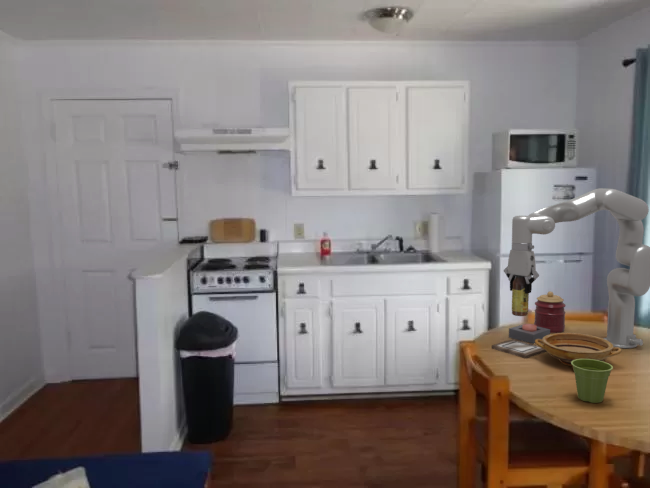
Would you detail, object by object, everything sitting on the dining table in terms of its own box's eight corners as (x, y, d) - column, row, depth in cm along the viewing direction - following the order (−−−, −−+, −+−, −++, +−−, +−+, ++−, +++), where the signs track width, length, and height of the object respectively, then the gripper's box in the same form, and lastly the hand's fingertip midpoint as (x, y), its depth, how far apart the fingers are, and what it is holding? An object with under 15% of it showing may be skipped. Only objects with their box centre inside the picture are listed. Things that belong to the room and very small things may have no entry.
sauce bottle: (526, 317, 216) (527, 267, 213) (509, 315, 219) (511, 266, 217) (529, 313, 221) (531, 265, 219) (513, 312, 225) (515, 264, 222)
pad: (547, 351, 220) (547, 347, 220) (525, 358, 212) (526, 355, 212) (512, 341, 233) (513, 338, 233) (491, 348, 225) (491, 345, 224)
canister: (542, 324, 259) (543, 287, 256) (569, 329, 249) (571, 291, 247) (528, 329, 250) (529, 291, 248) (556, 335, 240) (558, 295, 238)
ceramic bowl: (530, 367, 202) (531, 346, 201) (537, 348, 224) (537, 329, 223) (622, 379, 189) (623, 356, 188) (619, 357, 211) (620, 337, 210)
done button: (539, 332, 237) (539, 325, 236) (531, 335, 233) (531, 328, 233) (527, 329, 241) (527, 323, 241) (519, 332, 238) (519, 325, 238)
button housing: (549, 338, 236) (550, 329, 236) (533, 343, 229) (533, 334, 229) (525, 332, 246) (525, 323, 245) (508, 337, 239) (508, 328, 239)
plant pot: (619, 400, 172) (620, 366, 170) (596, 409, 166) (598, 373, 164) (584, 388, 182) (585, 355, 180) (561, 396, 175) (563, 362, 174)
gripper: (547, 248, 212) (545, 294, 214) (508, 244, 226) (507, 287, 228) (535, 250, 208) (533, 296, 210) (497, 245, 222) (496, 289, 224)
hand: (520, 291), depth 219 cm, fingers closed on sauce bottle, 6 cm apart
